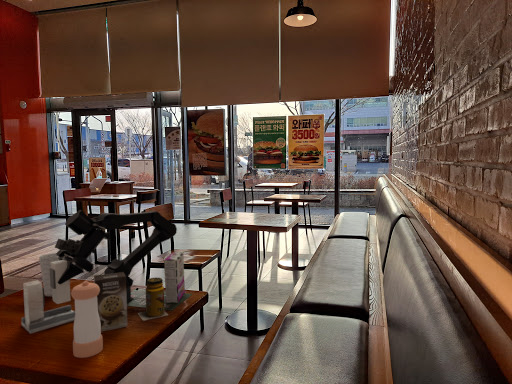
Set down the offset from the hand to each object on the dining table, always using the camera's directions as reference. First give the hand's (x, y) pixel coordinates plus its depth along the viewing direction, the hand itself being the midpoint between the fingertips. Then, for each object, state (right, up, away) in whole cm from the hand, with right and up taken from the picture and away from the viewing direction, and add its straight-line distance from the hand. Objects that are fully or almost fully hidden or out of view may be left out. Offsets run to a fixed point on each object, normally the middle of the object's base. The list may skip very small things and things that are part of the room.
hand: (56, 282), depth 116 cm
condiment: (+30, -12, +4) cm, 33 cm away
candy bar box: (+35, -11, +20) cm, 41 cm away
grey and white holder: (-1, -13, -1) cm, 13 cm away
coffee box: (+20, -13, -4) cm, 24 cm away
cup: (-16, -12, +26) cm, 32 cm away
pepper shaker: (+20, -14, -20) cm, 31 cm away
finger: (+1, -7, +1) cm, 7 cm away
